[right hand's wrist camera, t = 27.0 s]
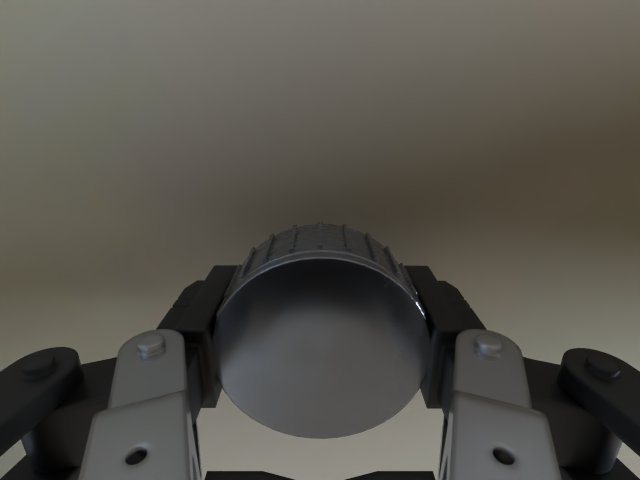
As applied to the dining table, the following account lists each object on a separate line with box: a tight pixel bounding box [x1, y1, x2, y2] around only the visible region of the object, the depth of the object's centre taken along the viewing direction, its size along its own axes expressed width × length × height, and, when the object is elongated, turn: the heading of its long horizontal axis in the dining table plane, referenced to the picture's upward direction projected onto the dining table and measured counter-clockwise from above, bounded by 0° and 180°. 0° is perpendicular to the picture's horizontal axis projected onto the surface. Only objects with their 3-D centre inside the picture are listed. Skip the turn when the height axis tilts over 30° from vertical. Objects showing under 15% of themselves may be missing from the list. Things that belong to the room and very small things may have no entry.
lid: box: [212, 222, 430, 439], centre depth 10 cm, size 5×5×2 cm
